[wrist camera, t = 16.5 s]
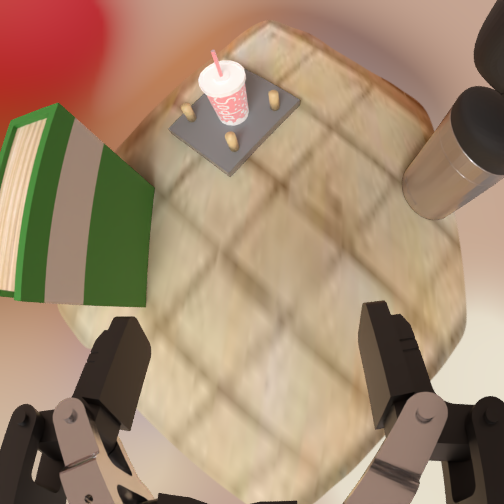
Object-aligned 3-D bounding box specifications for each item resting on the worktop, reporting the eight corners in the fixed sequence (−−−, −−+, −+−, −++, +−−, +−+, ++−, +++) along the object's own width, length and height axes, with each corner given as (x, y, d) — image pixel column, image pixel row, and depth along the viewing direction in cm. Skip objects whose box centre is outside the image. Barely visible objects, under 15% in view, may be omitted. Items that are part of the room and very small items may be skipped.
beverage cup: (207, 125, 45) (178, 66, 31) (223, 94, 46) (201, 32, 32) (245, 134, 44) (226, 72, 30) (259, 102, 45) (246, 37, 31)
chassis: (238, 70, 48) (233, 51, 43) (299, 105, 45) (299, 85, 41) (171, 133, 47) (160, 117, 42) (230, 177, 45) (223, 162, 40)
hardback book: (145, 307, 43) (20, 301, 20) (103, 303, 44) (-24, 293, 21) (154, 188, 46) (58, 102, 23) (113, 191, 47) (10, 120, 24)
